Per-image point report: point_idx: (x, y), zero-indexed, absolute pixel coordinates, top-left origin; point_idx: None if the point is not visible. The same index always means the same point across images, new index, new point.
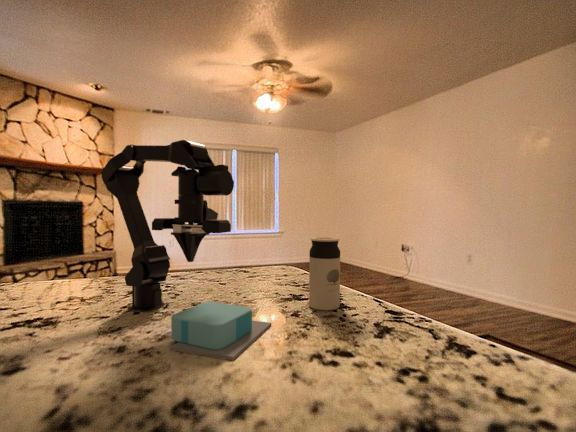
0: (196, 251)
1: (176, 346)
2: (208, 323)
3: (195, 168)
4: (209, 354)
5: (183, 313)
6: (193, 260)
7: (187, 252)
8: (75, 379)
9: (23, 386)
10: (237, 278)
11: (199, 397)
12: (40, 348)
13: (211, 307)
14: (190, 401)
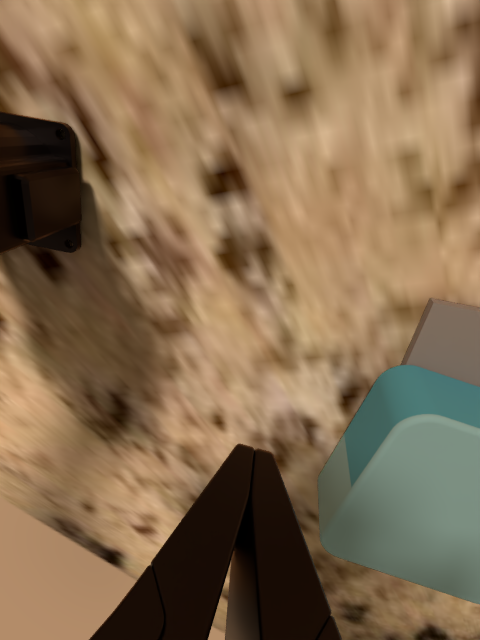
0: (308, 561)
1: None
2: (462, 598)
3: None
4: None
5: (353, 534)
6: (273, 457)
7: (230, 607)
8: (226, 580)
9: None
10: None
11: (450, 626)
12: (61, 498)
13: (444, 486)
14: (438, 630)
